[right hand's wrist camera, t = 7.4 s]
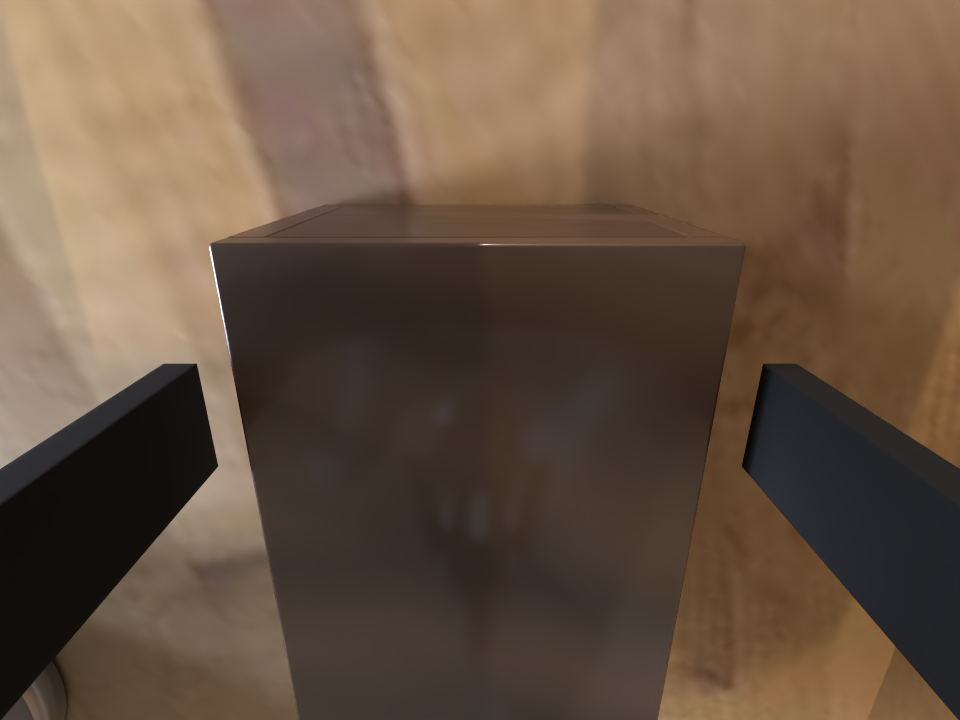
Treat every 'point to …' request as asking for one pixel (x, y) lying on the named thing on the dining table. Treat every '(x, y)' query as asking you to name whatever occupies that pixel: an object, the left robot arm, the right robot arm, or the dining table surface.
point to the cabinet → (477, 448)
